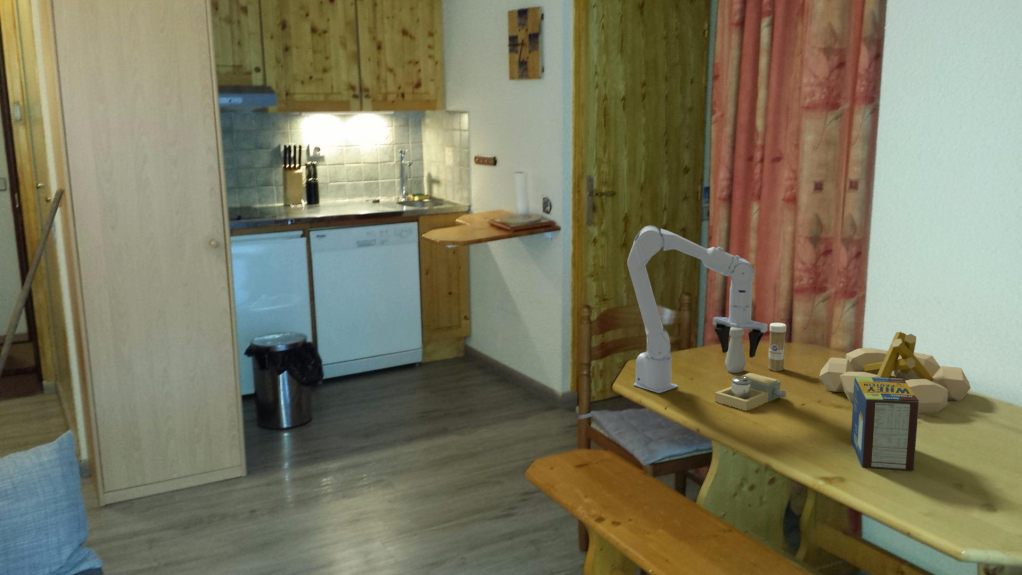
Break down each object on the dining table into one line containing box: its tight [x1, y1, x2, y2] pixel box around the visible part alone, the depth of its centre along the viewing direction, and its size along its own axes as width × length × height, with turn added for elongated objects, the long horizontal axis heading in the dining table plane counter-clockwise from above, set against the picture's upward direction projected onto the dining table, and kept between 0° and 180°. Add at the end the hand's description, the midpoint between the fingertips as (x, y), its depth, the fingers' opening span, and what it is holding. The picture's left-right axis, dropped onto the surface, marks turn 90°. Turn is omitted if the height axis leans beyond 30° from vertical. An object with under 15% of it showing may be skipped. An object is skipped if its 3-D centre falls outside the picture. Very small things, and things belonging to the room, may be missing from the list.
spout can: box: [731, 376, 751, 400], centre depth 220 cm, size 5×5×6 cm
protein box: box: [850, 376, 919, 471], centre depth 185 cm, size 10×15×16 cm
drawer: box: [714, 372, 787, 412], centre depth 221 cm, size 12×15×5 cm
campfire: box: [819, 331, 971, 415], centre depth 224 cm, size 35×34×17 cm
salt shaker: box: [724, 327, 747, 374], centre depth 245 cm, size 6×6×13 cm
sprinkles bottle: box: [767, 322, 787, 372], centre depth 246 cm, size 5×5×14 cm
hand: (738, 354), depth 228 cm, fingers open, 7 cm apart
